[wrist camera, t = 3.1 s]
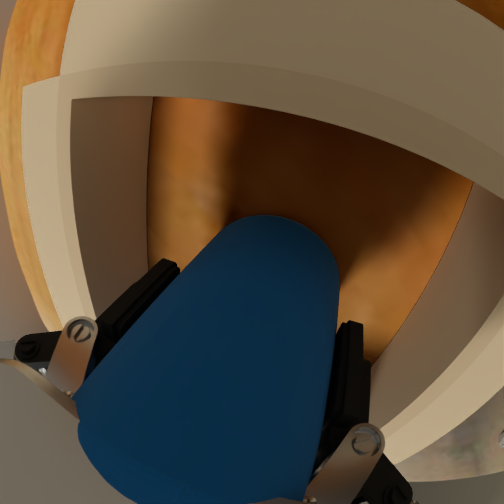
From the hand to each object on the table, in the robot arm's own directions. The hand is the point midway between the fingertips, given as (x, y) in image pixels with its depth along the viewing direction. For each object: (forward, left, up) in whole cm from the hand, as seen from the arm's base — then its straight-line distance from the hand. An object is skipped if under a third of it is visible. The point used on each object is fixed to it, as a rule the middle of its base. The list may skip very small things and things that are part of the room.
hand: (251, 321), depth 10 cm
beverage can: (0, 0, -4) cm, 4 cm away
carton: (0, 0, -4) cm, 4 cm away
